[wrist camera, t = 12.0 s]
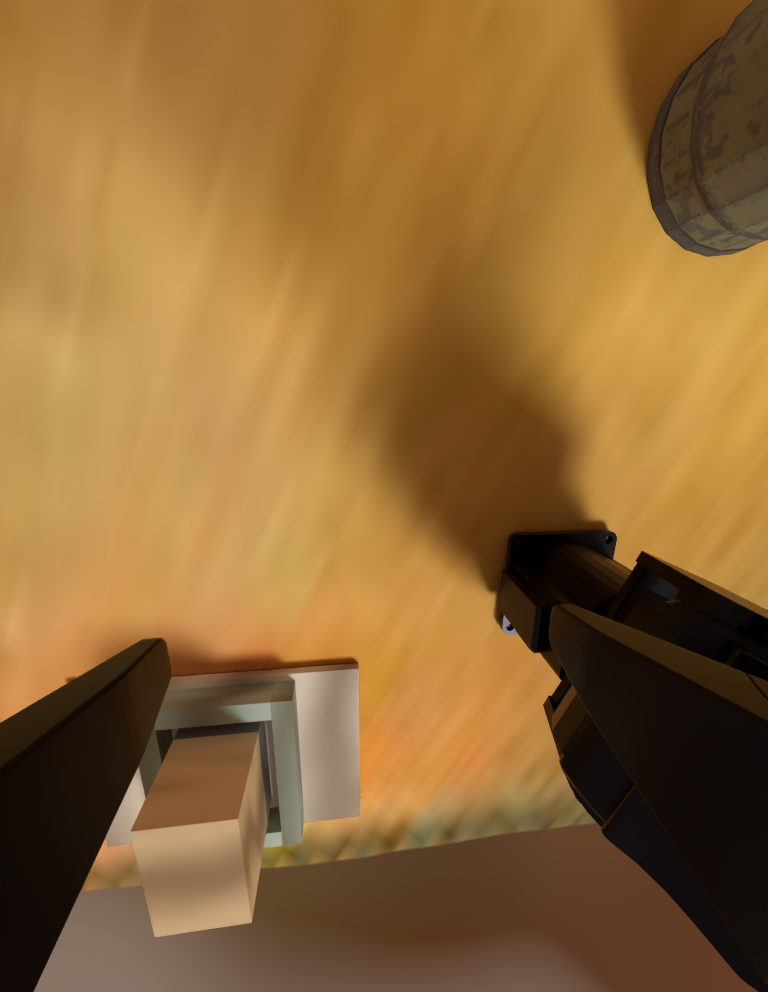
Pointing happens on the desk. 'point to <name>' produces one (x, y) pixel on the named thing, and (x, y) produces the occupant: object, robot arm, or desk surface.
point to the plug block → (205, 828)
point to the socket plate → (269, 741)
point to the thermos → (716, 144)
